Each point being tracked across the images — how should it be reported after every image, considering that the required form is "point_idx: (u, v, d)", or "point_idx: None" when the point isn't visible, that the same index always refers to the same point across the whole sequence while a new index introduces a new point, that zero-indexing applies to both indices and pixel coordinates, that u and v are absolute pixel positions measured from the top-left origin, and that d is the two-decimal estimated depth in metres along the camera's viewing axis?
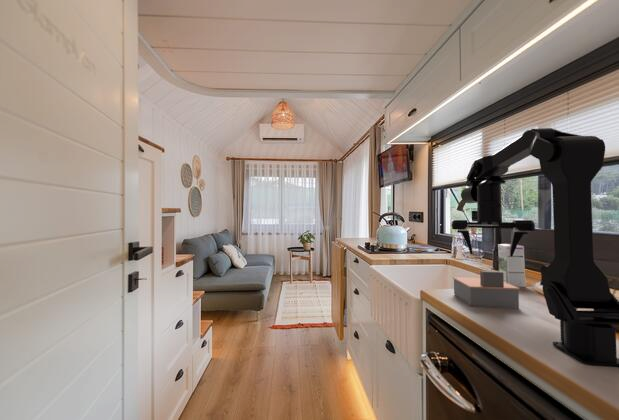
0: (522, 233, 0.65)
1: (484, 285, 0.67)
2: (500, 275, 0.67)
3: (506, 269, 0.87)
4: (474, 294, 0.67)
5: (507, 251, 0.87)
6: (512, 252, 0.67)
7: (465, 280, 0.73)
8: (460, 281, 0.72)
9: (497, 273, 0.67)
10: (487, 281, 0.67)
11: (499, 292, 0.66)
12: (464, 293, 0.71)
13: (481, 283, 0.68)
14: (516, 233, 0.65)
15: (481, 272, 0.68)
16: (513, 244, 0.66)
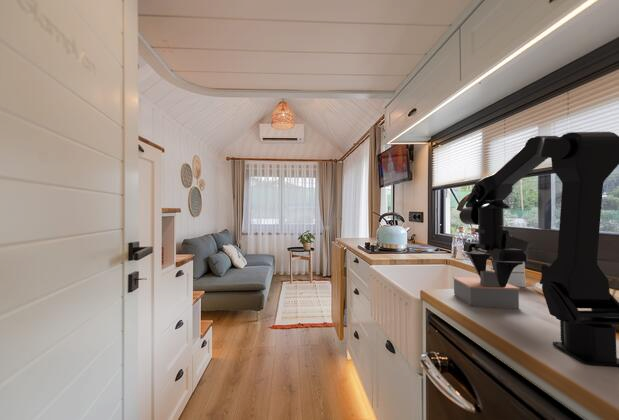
0: (495, 262, 0.61)
1: (484, 285, 0.67)
2: None
3: None
4: (474, 294, 0.67)
5: None
6: (499, 282, 0.63)
7: (465, 280, 0.73)
8: (460, 281, 0.72)
9: None
10: (487, 281, 0.67)
11: (499, 292, 0.66)
12: (464, 293, 0.71)
13: (481, 283, 0.68)
14: (492, 261, 0.63)
15: (481, 272, 0.68)
16: (495, 273, 0.63)
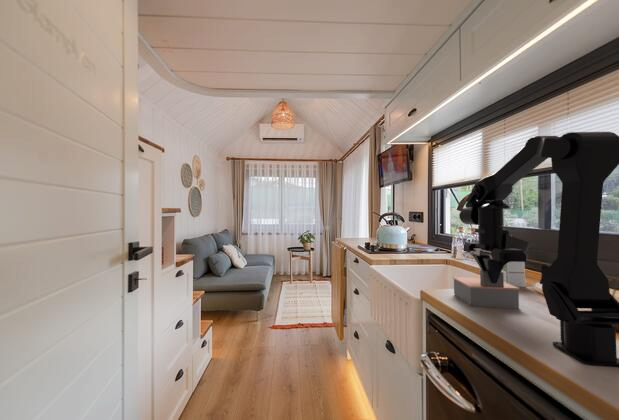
0: (486, 260, 0.65)
1: (484, 285, 0.67)
2: (500, 275, 0.67)
3: (506, 269, 0.87)
4: (474, 294, 0.67)
5: None
6: (490, 278, 0.67)
7: (465, 280, 0.73)
8: (460, 281, 0.72)
9: None
10: (487, 281, 0.67)
11: (499, 292, 0.66)
12: (464, 293, 0.71)
13: (481, 283, 0.68)
14: (484, 259, 0.66)
15: (481, 272, 0.68)
16: (487, 270, 0.67)
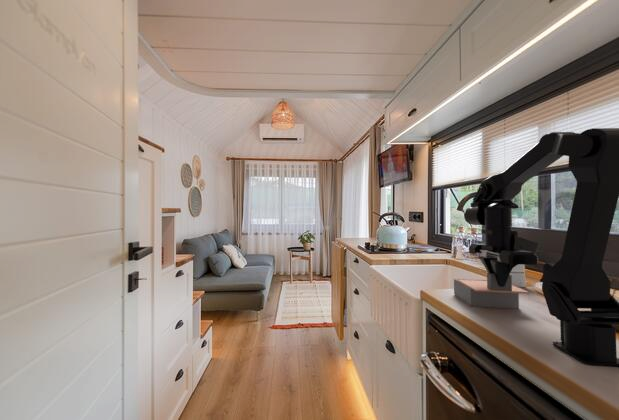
0: (494, 262, 0.62)
1: (491, 288, 0.64)
2: (508, 278, 0.63)
3: None
4: (474, 294, 0.67)
5: None
6: (498, 282, 0.63)
7: (471, 283, 0.70)
8: (465, 284, 0.69)
9: None
10: (495, 284, 0.64)
11: (499, 292, 0.66)
12: (464, 293, 0.71)
13: (488, 286, 0.65)
14: (491, 261, 0.63)
15: (488, 275, 0.65)
16: (494, 273, 0.63)
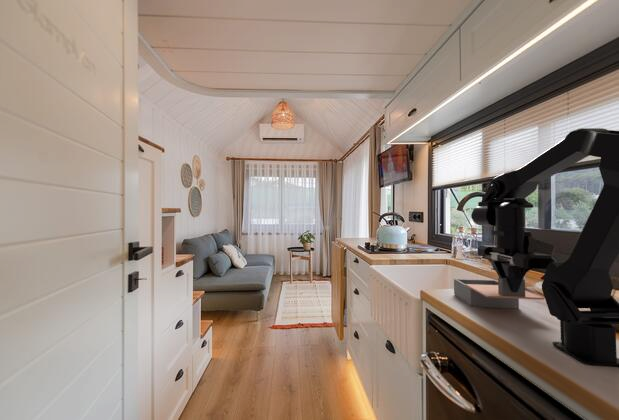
0: (506, 266, 0.57)
1: (503, 294, 0.59)
2: (521, 283, 0.59)
3: None
4: (474, 294, 0.67)
5: None
6: (510, 287, 0.59)
7: (480, 288, 0.66)
8: (474, 289, 0.65)
9: None
10: (507, 290, 0.59)
11: None
12: (464, 293, 0.71)
13: (499, 292, 0.60)
14: (503, 265, 0.58)
15: (499, 279, 0.60)
16: (507, 277, 0.59)
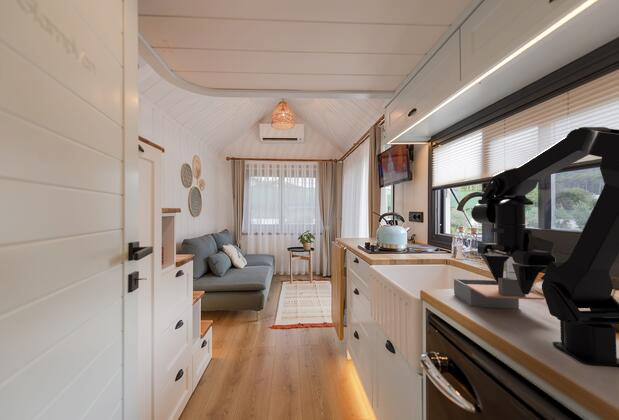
0: (517, 266, 0.54)
1: (503, 294, 0.59)
2: None
3: (506, 269, 0.87)
4: (474, 294, 0.67)
5: None
6: (521, 288, 0.55)
7: (480, 288, 0.66)
8: (475, 289, 0.65)
9: None
10: (507, 290, 0.59)
11: None
12: (464, 293, 0.71)
13: (499, 292, 0.60)
14: (513, 265, 0.55)
15: (499, 279, 0.60)
16: (517, 278, 0.55)
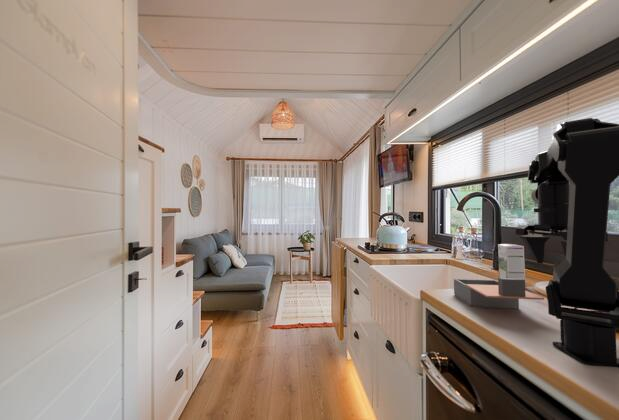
0: None
1: (503, 294, 0.59)
2: (521, 283, 0.59)
3: (506, 269, 0.87)
4: (474, 294, 0.67)
5: (507, 251, 0.87)
6: None
7: (480, 288, 0.66)
8: (475, 289, 0.65)
9: (518, 281, 0.59)
10: (507, 290, 0.59)
11: None
12: (464, 293, 0.71)
13: (499, 292, 0.60)
14: (562, 243, 0.55)
15: (499, 279, 0.60)
16: (566, 256, 0.56)
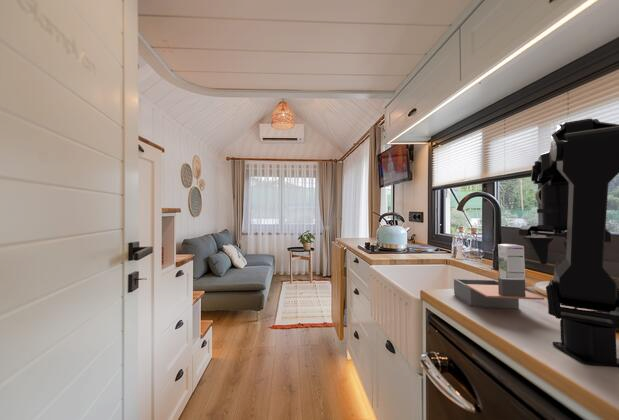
0: None
1: (503, 294, 0.59)
2: (521, 283, 0.59)
3: (506, 269, 0.87)
4: (474, 294, 0.67)
5: (507, 251, 0.87)
6: None
7: (480, 288, 0.66)
8: (475, 289, 0.65)
9: (518, 281, 0.59)
10: (507, 290, 0.59)
11: None
12: (464, 293, 0.71)
13: (499, 292, 0.60)
14: (565, 243, 0.55)
15: (499, 279, 0.60)
16: None
